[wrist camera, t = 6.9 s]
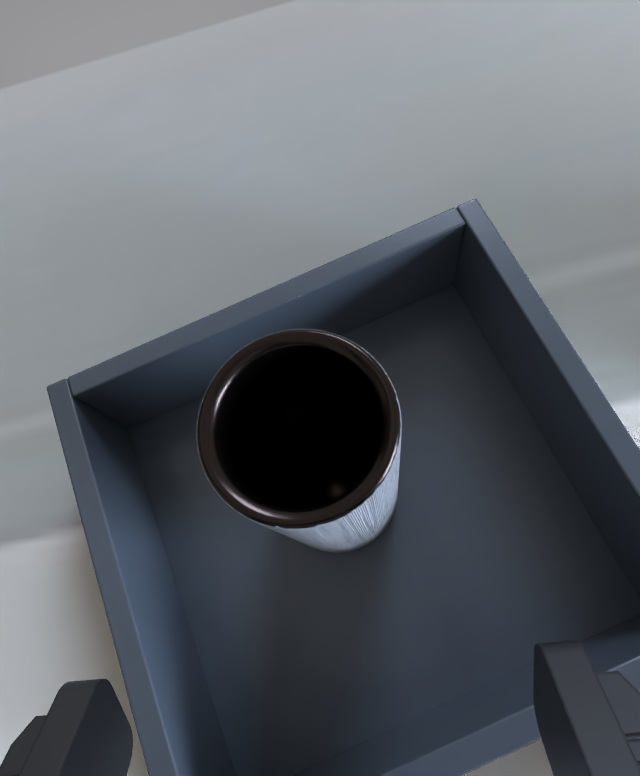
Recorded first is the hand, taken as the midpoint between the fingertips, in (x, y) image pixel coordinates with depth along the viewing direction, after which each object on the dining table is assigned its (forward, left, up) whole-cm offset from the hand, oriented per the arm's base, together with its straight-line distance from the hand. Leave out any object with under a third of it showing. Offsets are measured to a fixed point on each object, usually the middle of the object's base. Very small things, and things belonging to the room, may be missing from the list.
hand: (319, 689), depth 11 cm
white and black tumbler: (-2, -5, -10) cm, 12 cm away
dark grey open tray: (-2, -4, -10) cm, 11 cm away
